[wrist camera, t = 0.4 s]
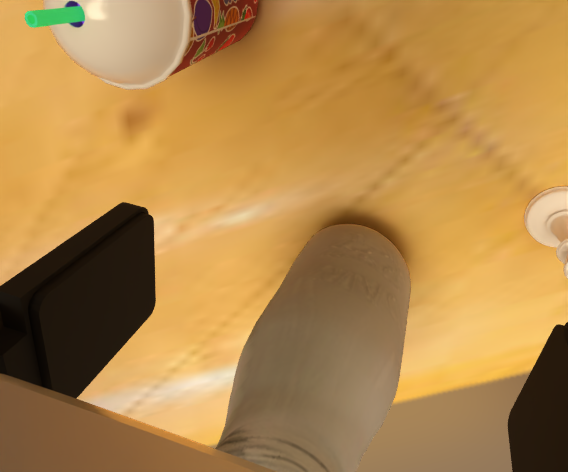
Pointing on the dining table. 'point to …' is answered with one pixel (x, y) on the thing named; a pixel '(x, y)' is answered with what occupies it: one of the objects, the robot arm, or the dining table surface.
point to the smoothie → (143, 34)
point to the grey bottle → (322, 356)
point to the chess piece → (550, 221)
